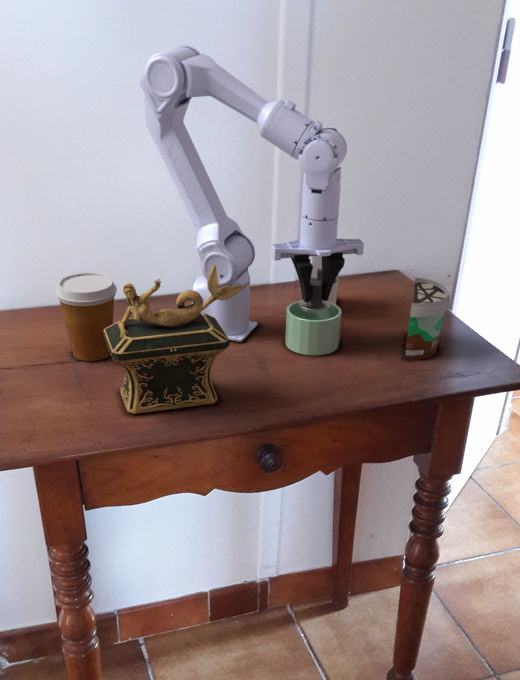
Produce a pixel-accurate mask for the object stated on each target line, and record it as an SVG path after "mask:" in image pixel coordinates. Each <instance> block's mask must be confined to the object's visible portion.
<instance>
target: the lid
mask: <svg viewBox="0 0 520 680" xmlns="http://www.w3.org/2000/svg"><path fill="white" fill-rule="evenodd" d="M323 292H324V282H322V281H320V280H311V282H310V301H309V302H304V300H303V299H302V298H301V300H299V301H300V302H299V309H300V310H302V311H304V312H307V313H313V314H319V313H325V312H327V311H329V310H330V307H331V304H330V302H329V301H324V300H323Z"/></svg>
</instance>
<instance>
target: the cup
mask: <svg viewBox="0 0 520 680" xmlns="http://www.w3.org/2000/svg"><path fill="white" fill-rule="evenodd" d="M300 301H301V300H296V301H294V302H292V303H290V304H289V305H287V307H286V314H285V315H286V316H285V334H284V335H285V336H284V338H285V339H284V341H285V342H284V344H285V346H286V348H287V349H289V350H290V351H292V352H294V353H297V354H300V355H303V356H304V355H305V356H323V355H329V354H331V353H333V352H335V351H337V349H338V348H339V347H340V339H341V338H340V336H341V324H342V308H340V306H339V305H337V304H336V305H335V304H333V303H331V302H330V304H331V307H330V310H329V311H327V312H325V313H319V314H313V313H307V312H304V311H302V310H300V309H299V302H300Z"/></svg>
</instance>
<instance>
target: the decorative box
mask: <svg viewBox="0 0 520 680" xmlns="http://www.w3.org/2000/svg"><path fill="white" fill-rule="evenodd" d="M160 280H161V279H160V278H156V281H155V280H153V283H154V284H155V285H154V286H152V287H151V288H150V289H148V290H147V291H146V292H143V293H142V294H141V295H138V293H137V290H136V287H135V286H134V285H133V284H132V283H125V284H124V285H123V288H122V292H123V294H124V296H125V298H126V302H127V304H128V305H129V306H128V307H126V308H127V309H126V311H125V314H124V315H123V318H122V319H119V320H118V321H116V322H113V324H112V325H111V326H109V327H107V328H105V329H104V330H103V334H104V338H105V341H106V343H107V346H108V349H109V351H110V354H111V355H110V356H111V359H112V360H113V361H114V362H115V363H117V364H118V365H119V366H120V367H122V368H123V369H124V378H123V381H122V384H121V386H120V389H119V393H120V394H121V398H122V400H123V403H124V406H125V408H126V412H127V413H131V414H135V415H136V414H137V415H139V414H144V413H152V412H160V411H167V410H168V411H169V410H175V409H182V408H189V407H197V406H205V405H213V404H215V403H216V402H218V396H217V393H216V390H215V388H214V386H213V382H212V376H211V371H212V366H213V363H214V361H215V360H216V359H217V357H218V356H219V355H220V354H221V353H223V352H224V351H225V350H226V349H228V348H229V347H230V341H231V340H229V338H228V337H227V335H226V334H225V332H224V331H223V329H222V327H221V326H220V324H219V323H218V321H217V320H216V318H214V317H212V316H210V315H207V314H205V313H203V312H201V311H203V310H204V309H205V308H207V306H208V305H210V304H211V303H212V302H214V301H215V300H217V299H219V300H227V299H229V298H231V297H232V296H234V295H235V294H237V293H238V292H239V291H241V290H242V289H244V288H245V287H246V286H224V287H222V288H220V289H218V288H217V287H218V277H217V269H216V264H215V263H214V264H213V267H212V270H211V272H210V275H209V277H208V281H207V287H208V290H209V292H210V293H211V296H210V297H209V298H208V300H207V301H206V302H205V303H204V305H203V299H202V297H201V295H200V294H199V293H198V292H196V291H193V289H186V290H184V291H182V292H180V293H179V295H178V296H177V298H176V300H175V304H176V307H177V308H163V309H160V310H157V312H155V313H153V311H152V309H151V306H150V303H149V301H148V298H150V297H151V296H152V295H153V294H154V293H156V292H157V291H158V290H159V289H160V288H161V283H162V280H161V281H160ZM187 301H191V304H189V305H187V306H186V305H185V303H187ZM192 302H193V304H192ZM131 315H132V316H133V317H130V316H131Z"/></svg>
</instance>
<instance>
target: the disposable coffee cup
mask: <svg viewBox="0 0 520 680" xmlns="http://www.w3.org/2000/svg"><path fill="white" fill-rule="evenodd" d="M117 291H118V288H117V286H116V285H115V283H114V280H113V278H112V277H111V276H110V275H107V274H105V273H100V272H93V271H91V272H89V271H87V272H85V271H84V272H77V273H75V272H74V273H71V274H68V275H65V276H63V277H61V278H60V279H59V280H58V281H57V284H56V288H55V291H54V293H55V296H56V297H57V299H58V300H59V305H60V308H61V313H62V316H63V319H64V324H65V328H66V333H67V336H68V341H69V344H70V348H71V353H72V355H73V358H75V359H77V360H80V361H84V362H96V361H97V362H98V361H102V360H105V359H106V358H109V357H110V356H111V354H110V351H109V349H108V346H107V343H106V341H105V338H104V334H103V330H104V329H105V328H107V327H109V326H111V325H112V324H114V312H115V311H114V310H115V297H116V293H117Z"/></svg>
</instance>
